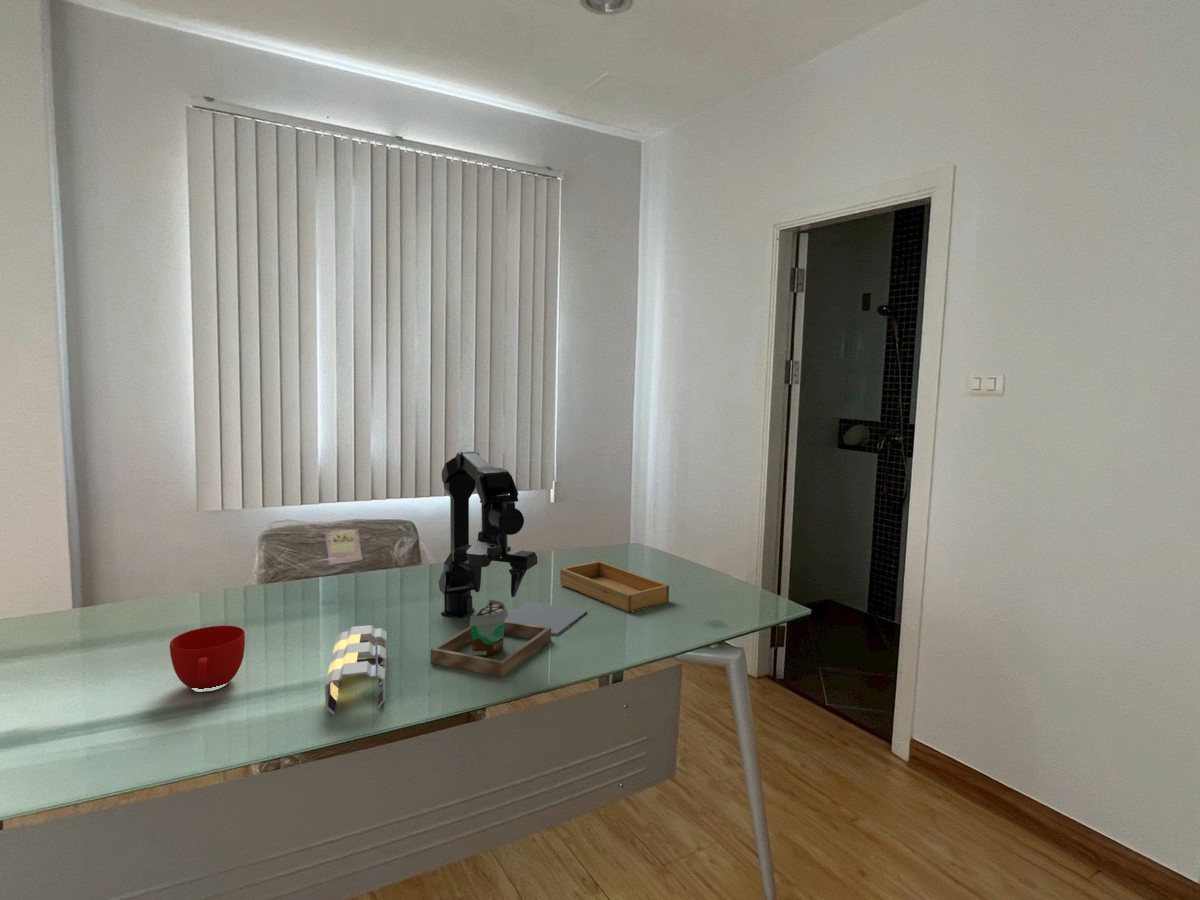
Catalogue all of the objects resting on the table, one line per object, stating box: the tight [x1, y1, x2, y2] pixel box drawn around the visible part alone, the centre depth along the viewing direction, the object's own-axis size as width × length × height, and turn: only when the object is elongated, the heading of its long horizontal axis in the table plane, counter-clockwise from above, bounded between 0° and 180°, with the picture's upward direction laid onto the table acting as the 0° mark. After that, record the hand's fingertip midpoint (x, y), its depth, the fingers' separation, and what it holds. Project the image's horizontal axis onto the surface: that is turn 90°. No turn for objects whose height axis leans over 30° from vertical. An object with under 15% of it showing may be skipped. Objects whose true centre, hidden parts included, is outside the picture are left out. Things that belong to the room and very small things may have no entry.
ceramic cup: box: [169, 625, 246, 689], centre depth 134 cm, size 13×17×10 cm
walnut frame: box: [430, 620, 552, 678], centre depth 154 cm, size 18×22×3 cm
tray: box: [559, 560, 670, 613], centre depth 196 cm, size 31×15×6 cm, turn 39°
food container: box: [469, 599, 509, 658], centre depth 154 cm, size 12×6×10 cm, turn 168°
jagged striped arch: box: [324, 624, 388, 715], centre depth 137 cm, size 25×10×13 cm, turn 16°
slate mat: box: [505, 601, 588, 636], centre depth 175 cm, size 18×18×1 cm
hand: (495, 594), depth 153 cm, fingers open, 9 cm apart
